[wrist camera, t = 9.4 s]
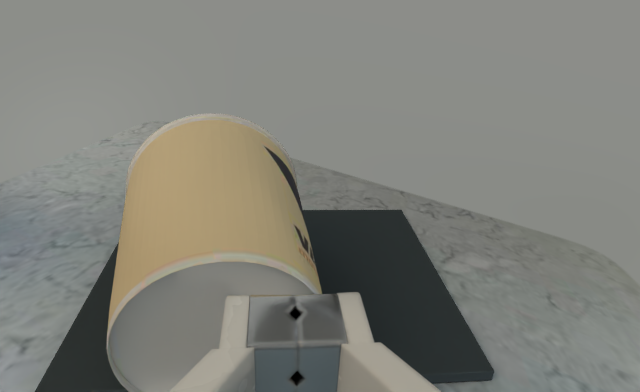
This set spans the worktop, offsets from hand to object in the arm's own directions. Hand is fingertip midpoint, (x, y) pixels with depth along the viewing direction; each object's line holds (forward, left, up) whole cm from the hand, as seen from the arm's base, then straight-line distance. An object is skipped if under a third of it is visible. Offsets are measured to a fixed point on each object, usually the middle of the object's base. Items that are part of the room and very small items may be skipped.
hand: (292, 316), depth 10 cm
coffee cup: (+2, -4, -5) cm, 7 cm away
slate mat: (0, -14, -9) cm, 17 cm away
